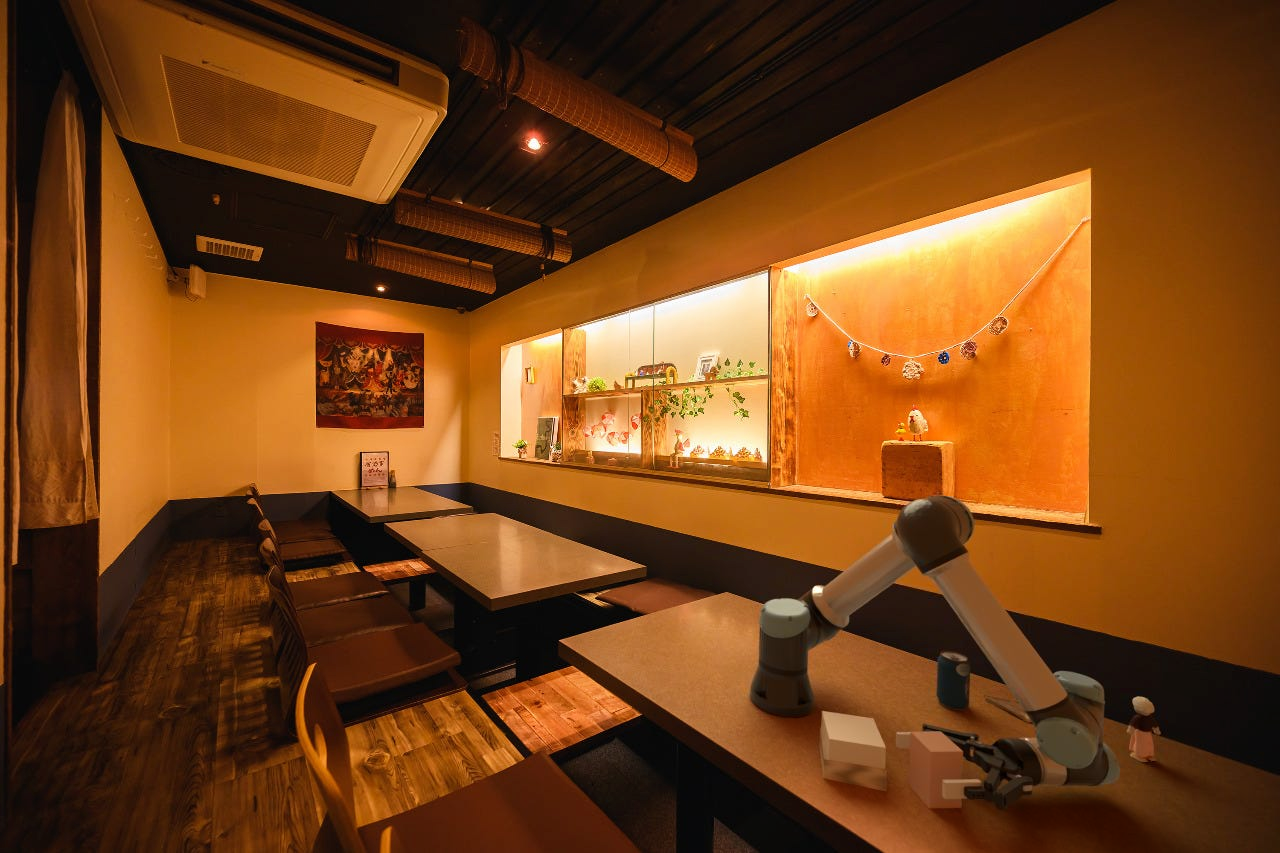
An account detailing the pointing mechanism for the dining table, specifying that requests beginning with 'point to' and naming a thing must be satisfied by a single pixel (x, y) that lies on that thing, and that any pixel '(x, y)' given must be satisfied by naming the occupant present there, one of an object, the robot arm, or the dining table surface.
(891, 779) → the dining table surface
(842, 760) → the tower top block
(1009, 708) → the shard
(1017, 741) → the robot arm
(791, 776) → the dining table surface
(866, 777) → the tower base block
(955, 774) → the tall block
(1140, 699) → the grandmother figurine
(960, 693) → the soda can
